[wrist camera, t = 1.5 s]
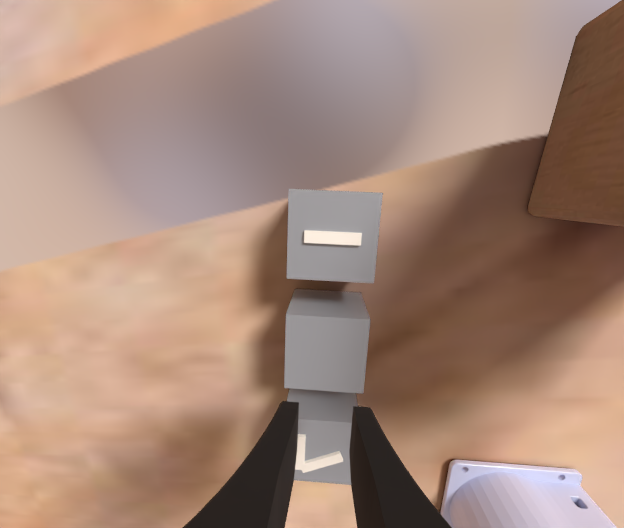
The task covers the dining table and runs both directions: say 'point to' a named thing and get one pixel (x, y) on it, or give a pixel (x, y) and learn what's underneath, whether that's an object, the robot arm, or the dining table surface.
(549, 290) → the dining table surface
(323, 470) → the block marked 7
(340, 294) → the plain block
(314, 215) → the block marked 1
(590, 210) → the wooden block
